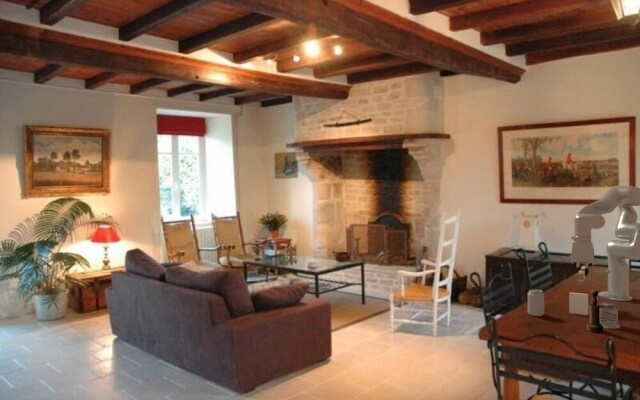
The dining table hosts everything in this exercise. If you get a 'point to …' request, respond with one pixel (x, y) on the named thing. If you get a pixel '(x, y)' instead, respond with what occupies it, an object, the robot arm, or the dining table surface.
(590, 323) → the pepper mill
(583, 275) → the cream wooden plank
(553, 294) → the dining table surface
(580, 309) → the tile
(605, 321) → the french press
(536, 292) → the can
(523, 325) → the dining table surface
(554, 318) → the dining table surface
